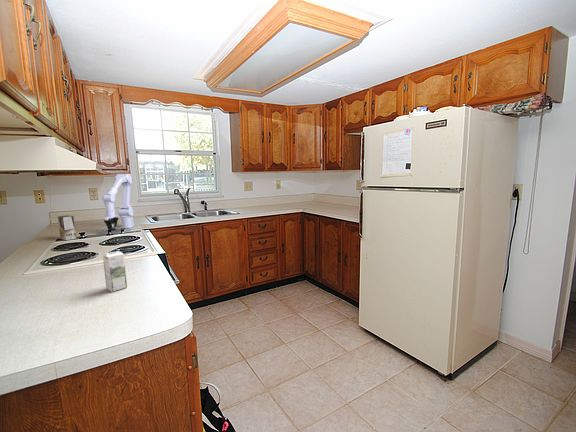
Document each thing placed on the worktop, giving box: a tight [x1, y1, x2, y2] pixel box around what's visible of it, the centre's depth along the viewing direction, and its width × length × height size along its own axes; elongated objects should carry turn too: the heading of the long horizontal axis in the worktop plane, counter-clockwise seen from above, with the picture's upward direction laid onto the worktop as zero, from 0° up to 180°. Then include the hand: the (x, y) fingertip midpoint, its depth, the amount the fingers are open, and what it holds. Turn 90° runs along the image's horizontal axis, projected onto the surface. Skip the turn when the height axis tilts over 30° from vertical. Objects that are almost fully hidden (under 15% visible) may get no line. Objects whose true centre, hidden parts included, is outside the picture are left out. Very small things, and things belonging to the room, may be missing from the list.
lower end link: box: [101, 228, 131, 235], centre depth 222 cm, size 10×16×2 cm, turn 95°
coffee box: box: [57, 214, 77, 241], centre depth 201 cm, size 9×6×16 cm
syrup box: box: [102, 250, 128, 293], centre depth 114 cm, size 6×6×14 cm
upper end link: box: [96, 227, 121, 235], centre depth 221 cm, size 10×14×2 cm
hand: (112, 228), depth 221 cm, fingers open, 7 cm apart
